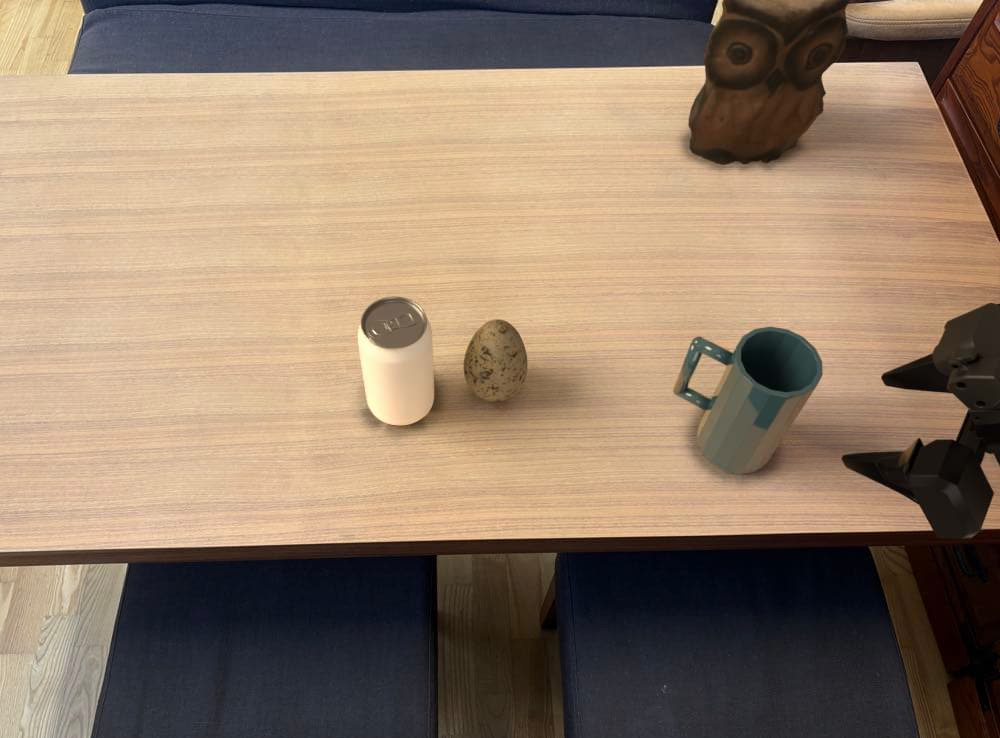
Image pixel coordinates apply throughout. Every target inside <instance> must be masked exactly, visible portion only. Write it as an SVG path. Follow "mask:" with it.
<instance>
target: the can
mask: <svg viewBox="0 0 1000 738" xmlns="http://www.w3.org/2000/svg"><path fill="white" fill-rule="evenodd" d="M357 329H358V330H357V344H358V352H359V359H360V365H361V371H362V379H363V385H364V391H365V399H366V404H367V406H368V408H369V410H370V412H371V413H372V415H374V417H375V418H377V419H378V420H379V421H381V422H383V423H384V424H388V425H390V426H391V425H392V426H407V425H412V424H414V423H417V422H419V421H421V420H422V419H423V418H425V417H426V416H427V415H428V414H429V412H430V411H431V409H432V407H433V405H434V400H435V368H434V367H435V366H434V341H433V340H434V339H433V329H432V325H431V323H430V320H429V319H428V317H427V314H426V312H425V310H424V309H423V307H422V306H421V305H420V304H419V303H417V302H416V301H415V300H412V299H411V298H407V297H404V296H395V295H394V296H386V297H382V298H380V299H377V300H375V301H374V302H372V303H370V305H368V306H367V308H366V309H365V310H364V312H363V313H362V315H361V318H360V324H359V326H358V328H357Z"/></svg>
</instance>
